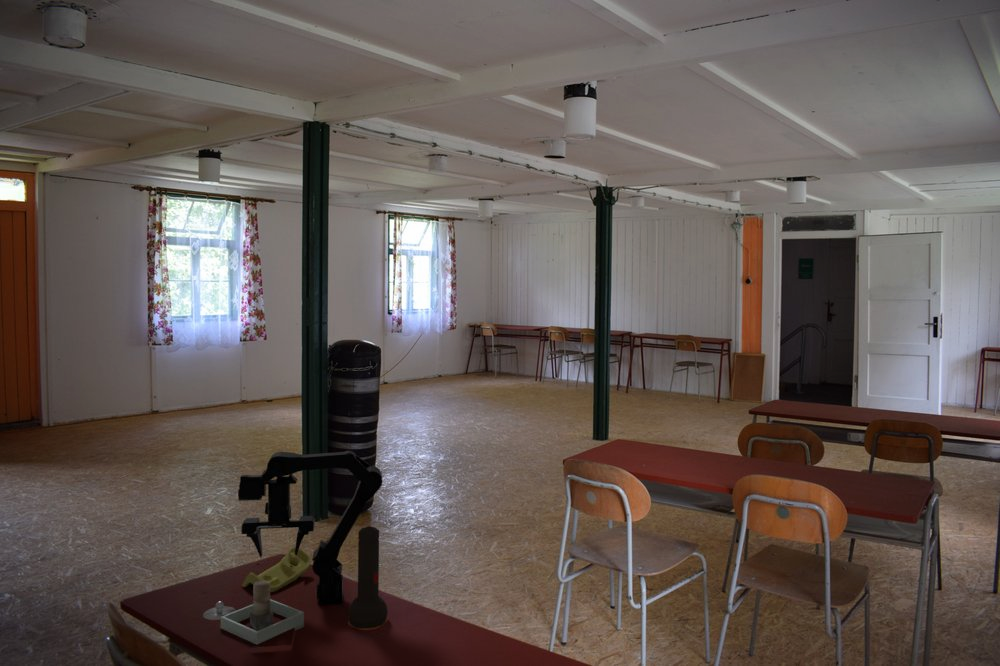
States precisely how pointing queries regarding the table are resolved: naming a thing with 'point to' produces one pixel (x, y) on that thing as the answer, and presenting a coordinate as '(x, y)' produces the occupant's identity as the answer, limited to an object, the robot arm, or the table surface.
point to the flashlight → (368, 583)
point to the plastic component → (282, 571)
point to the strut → (261, 606)
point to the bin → (293, 620)
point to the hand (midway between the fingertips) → (278, 555)
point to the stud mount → (218, 611)
